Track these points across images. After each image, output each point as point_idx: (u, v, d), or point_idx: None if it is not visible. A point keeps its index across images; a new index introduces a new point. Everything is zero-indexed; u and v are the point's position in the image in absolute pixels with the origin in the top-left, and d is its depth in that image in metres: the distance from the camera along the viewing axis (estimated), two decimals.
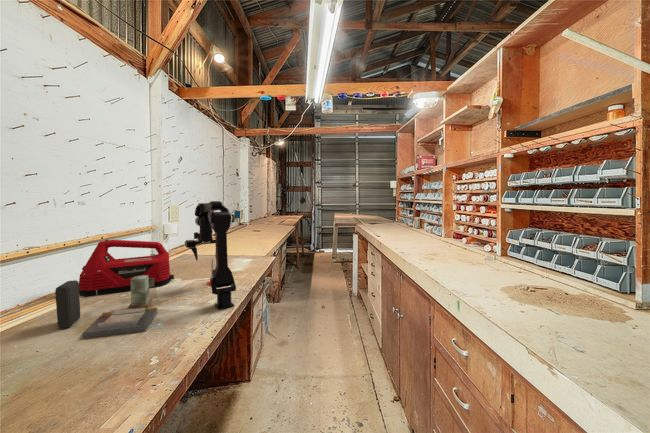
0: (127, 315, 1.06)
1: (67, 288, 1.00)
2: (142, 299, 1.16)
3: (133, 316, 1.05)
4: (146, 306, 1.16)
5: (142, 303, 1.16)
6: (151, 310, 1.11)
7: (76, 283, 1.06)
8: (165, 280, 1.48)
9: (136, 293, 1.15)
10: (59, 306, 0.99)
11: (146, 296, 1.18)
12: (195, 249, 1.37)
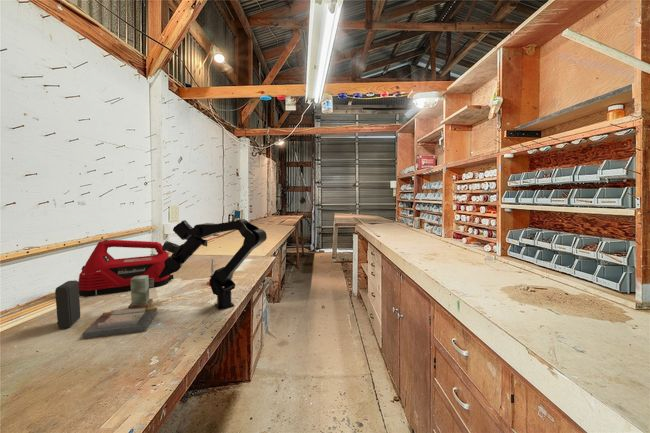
0: (127, 315, 1.06)
1: (67, 288, 1.00)
2: (142, 299, 1.16)
3: (133, 316, 1.05)
4: (146, 306, 1.16)
5: (142, 303, 1.16)
6: (151, 310, 1.11)
7: (76, 283, 1.06)
8: (165, 280, 1.48)
9: (136, 293, 1.15)
10: (59, 306, 0.99)
11: (146, 296, 1.18)
12: None
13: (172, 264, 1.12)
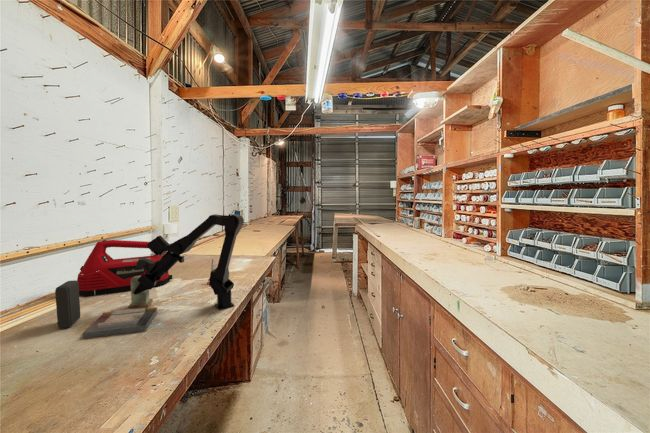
0: (127, 315, 1.06)
1: (67, 288, 1.00)
2: (142, 299, 1.16)
3: (133, 316, 1.05)
4: (146, 306, 1.16)
5: (142, 303, 1.16)
6: (151, 310, 1.11)
7: (76, 283, 1.06)
8: (164, 280, 1.48)
9: None
10: (59, 306, 0.99)
11: (146, 296, 1.18)
12: None
13: (145, 282, 1.10)
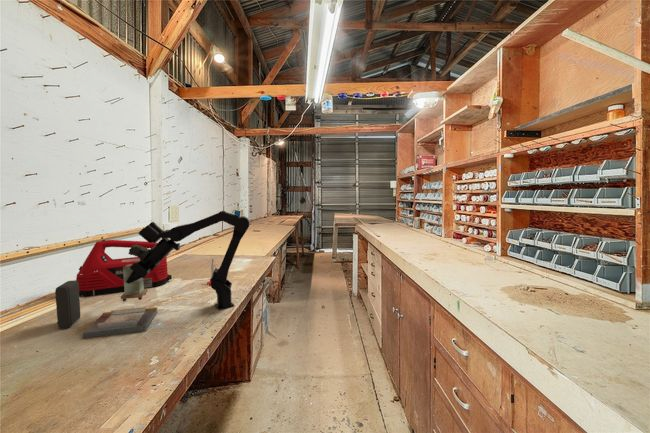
0: (127, 315, 1.06)
1: (67, 288, 1.00)
2: (135, 288, 1.10)
3: (133, 316, 1.05)
4: (140, 296, 1.10)
5: (136, 293, 1.10)
6: (151, 310, 1.11)
7: (76, 283, 1.06)
8: (163, 280, 1.48)
9: None
10: (59, 306, 0.99)
11: (140, 285, 1.12)
12: None
13: (138, 270, 1.04)
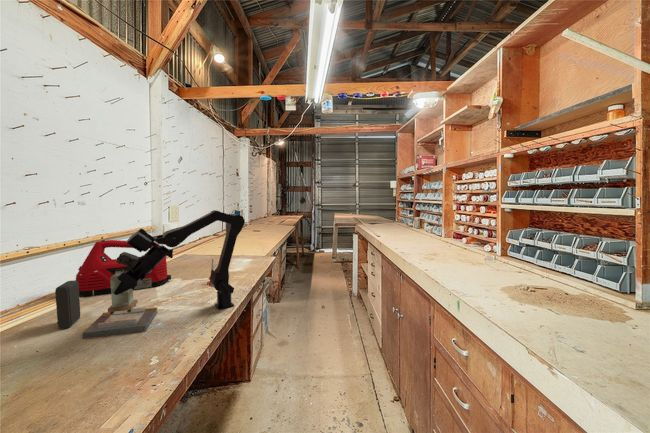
0: (127, 315, 1.06)
1: (67, 288, 1.00)
2: (124, 300, 1.01)
3: (133, 316, 1.05)
4: (129, 308, 1.01)
5: (124, 305, 1.01)
6: (151, 310, 1.11)
7: (76, 283, 1.06)
8: (162, 280, 1.48)
9: None
10: (59, 306, 0.99)
11: (129, 296, 1.02)
12: None
13: (127, 281, 0.95)
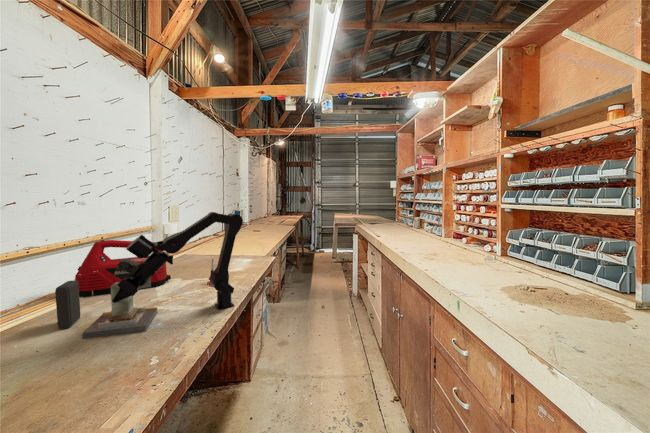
0: None
1: (67, 288, 1.00)
2: (124, 309, 1.01)
3: (133, 316, 1.05)
4: (129, 317, 1.01)
5: (124, 313, 1.01)
6: (151, 310, 1.11)
7: (76, 283, 1.06)
8: (162, 280, 1.48)
9: (117, 302, 1.00)
10: (59, 306, 0.99)
11: (129, 305, 1.03)
12: None
13: (127, 287, 0.95)
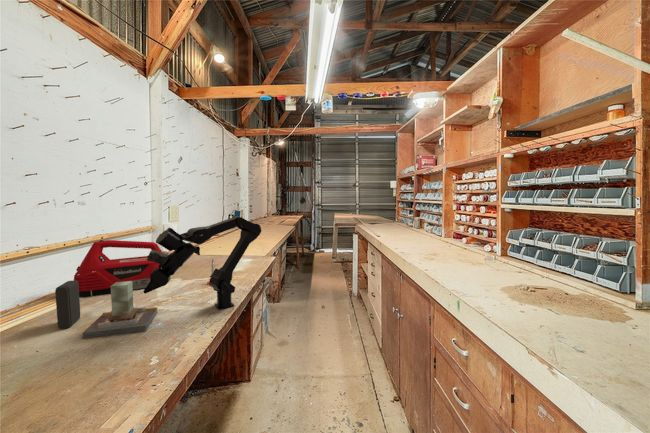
0: None
1: (67, 288, 1.00)
2: (124, 309, 1.01)
3: (133, 316, 1.05)
4: (129, 317, 1.01)
5: (124, 313, 1.01)
6: (151, 310, 1.11)
7: (76, 283, 1.06)
8: None
9: (117, 302, 1.00)
10: (59, 306, 0.99)
11: (129, 305, 1.03)
12: None
13: (159, 278, 0.98)
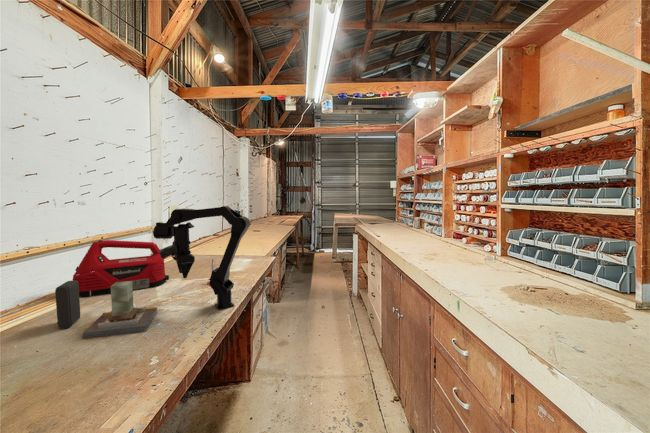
0: None
1: (67, 288, 1.00)
2: (124, 309, 1.01)
3: (133, 316, 1.05)
4: (129, 317, 1.01)
5: (124, 313, 1.01)
6: (151, 310, 1.11)
7: (76, 283, 1.06)
8: (160, 281, 1.47)
9: (117, 302, 1.00)
10: (59, 306, 0.99)
11: (129, 305, 1.03)
12: None
13: (186, 259, 1.12)
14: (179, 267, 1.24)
